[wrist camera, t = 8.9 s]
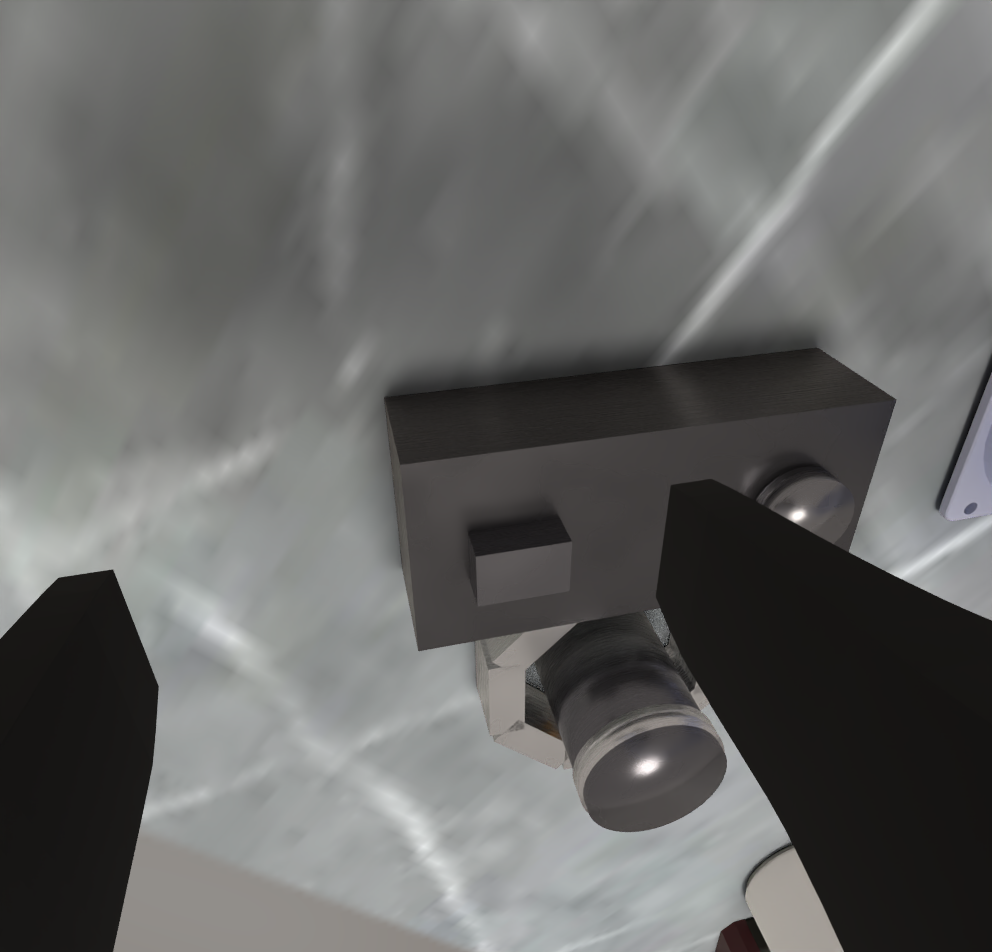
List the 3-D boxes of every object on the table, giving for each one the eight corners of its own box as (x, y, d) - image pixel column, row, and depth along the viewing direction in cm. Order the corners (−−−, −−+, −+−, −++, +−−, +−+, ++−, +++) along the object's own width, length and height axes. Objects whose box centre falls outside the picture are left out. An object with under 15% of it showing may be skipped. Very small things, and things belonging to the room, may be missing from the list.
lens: (670, 599, 27) (755, 733, 22) (622, 691, 29) (690, 834, 24) (554, 588, 25) (617, 731, 20) (513, 687, 27) (561, 838, 22)
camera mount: (818, 348, 22) (923, 417, 18) (736, 685, 30) (798, 781, 27) (384, 397, 20) (405, 488, 16) (421, 749, 28) (441, 864, 24)
